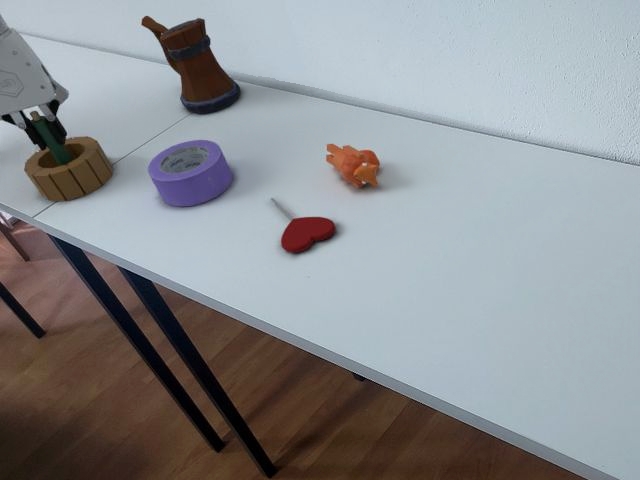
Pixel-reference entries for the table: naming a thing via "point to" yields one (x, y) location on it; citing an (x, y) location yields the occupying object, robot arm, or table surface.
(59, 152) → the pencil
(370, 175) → the orange toy bird
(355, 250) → the table surface
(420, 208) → the table surface
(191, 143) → the tape roll
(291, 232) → the lollipop
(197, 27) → the mug
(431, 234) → the table surface
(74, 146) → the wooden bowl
